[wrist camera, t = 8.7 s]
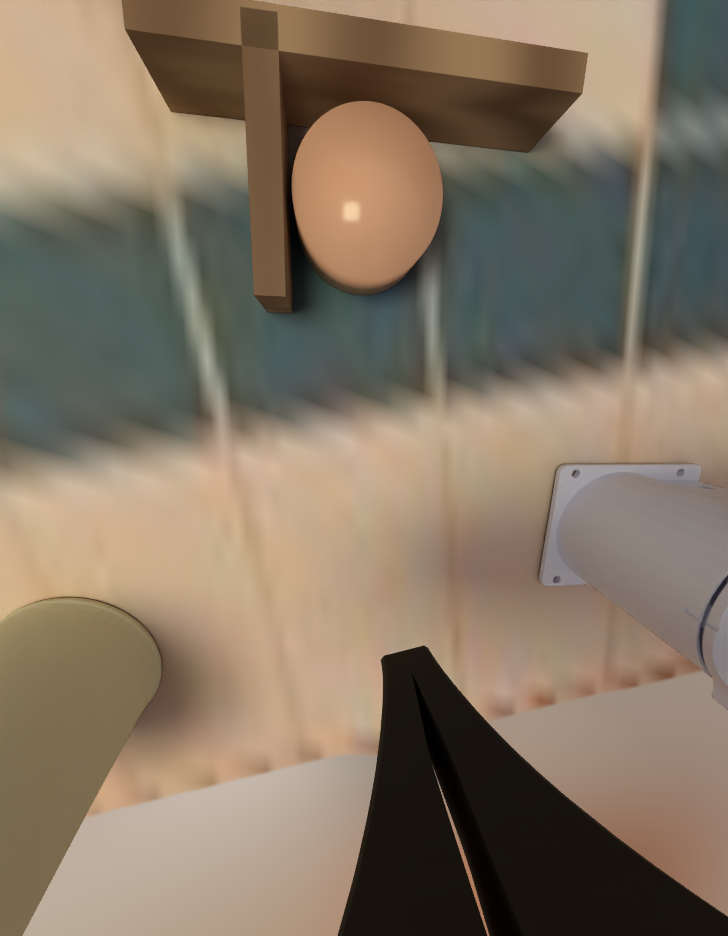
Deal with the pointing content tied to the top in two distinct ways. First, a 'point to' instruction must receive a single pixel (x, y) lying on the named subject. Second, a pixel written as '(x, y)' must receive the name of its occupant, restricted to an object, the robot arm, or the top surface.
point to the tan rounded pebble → (365, 196)
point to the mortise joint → (339, 90)
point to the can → (61, 731)
